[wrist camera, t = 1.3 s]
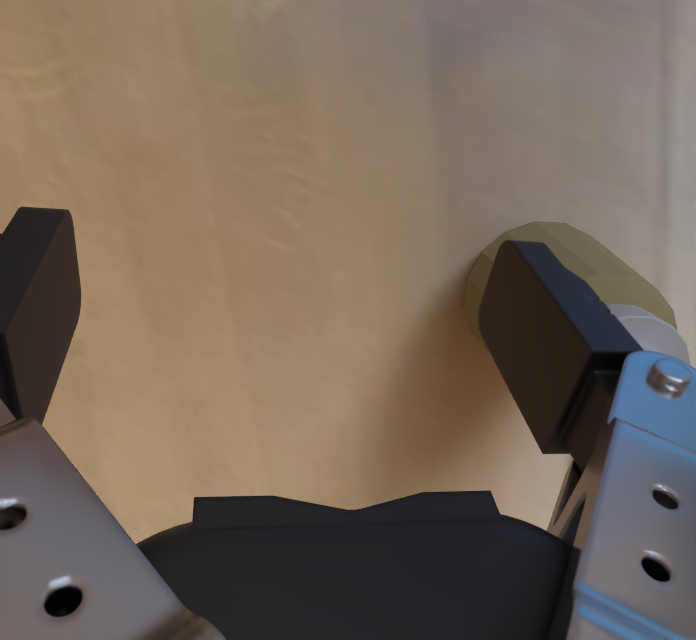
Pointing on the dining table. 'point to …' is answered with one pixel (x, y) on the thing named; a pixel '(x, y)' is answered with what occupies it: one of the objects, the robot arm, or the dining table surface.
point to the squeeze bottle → (603, 277)
